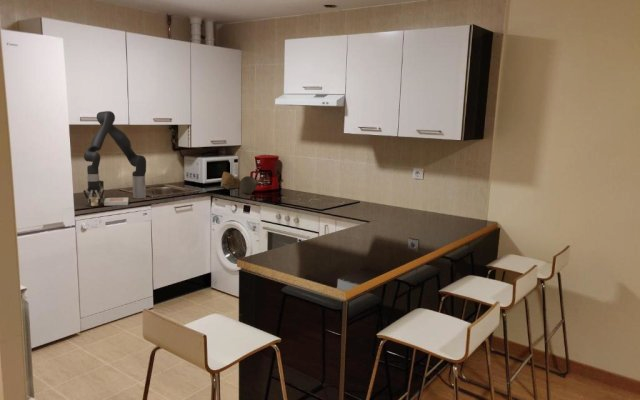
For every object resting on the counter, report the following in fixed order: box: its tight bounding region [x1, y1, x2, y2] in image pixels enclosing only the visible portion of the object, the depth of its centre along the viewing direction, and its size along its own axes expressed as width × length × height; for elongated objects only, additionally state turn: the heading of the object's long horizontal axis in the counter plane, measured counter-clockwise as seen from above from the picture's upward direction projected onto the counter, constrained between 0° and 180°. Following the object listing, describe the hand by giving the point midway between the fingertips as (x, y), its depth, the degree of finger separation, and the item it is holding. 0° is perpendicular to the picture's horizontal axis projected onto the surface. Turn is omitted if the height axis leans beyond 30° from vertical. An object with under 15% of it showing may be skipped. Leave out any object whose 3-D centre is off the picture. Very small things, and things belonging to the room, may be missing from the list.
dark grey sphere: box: [239, 175, 258, 195], centre depth 413 cm, size 14×14×15 cm
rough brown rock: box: [220, 171, 241, 190], centre depth 439 cm, size 23×17×15 cm
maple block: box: [90, 196, 100, 207], centre depth 343 cm, size 4×4×6 cm
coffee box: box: [87, 179, 105, 204], centre depth 355 cm, size 9×6×16 cm
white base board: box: [103, 196, 129, 206], centre depth 357 cm, size 16×16×3 cm
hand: (94, 203), depth 343 cm, fingers closed on maple block, 4 cm apart
